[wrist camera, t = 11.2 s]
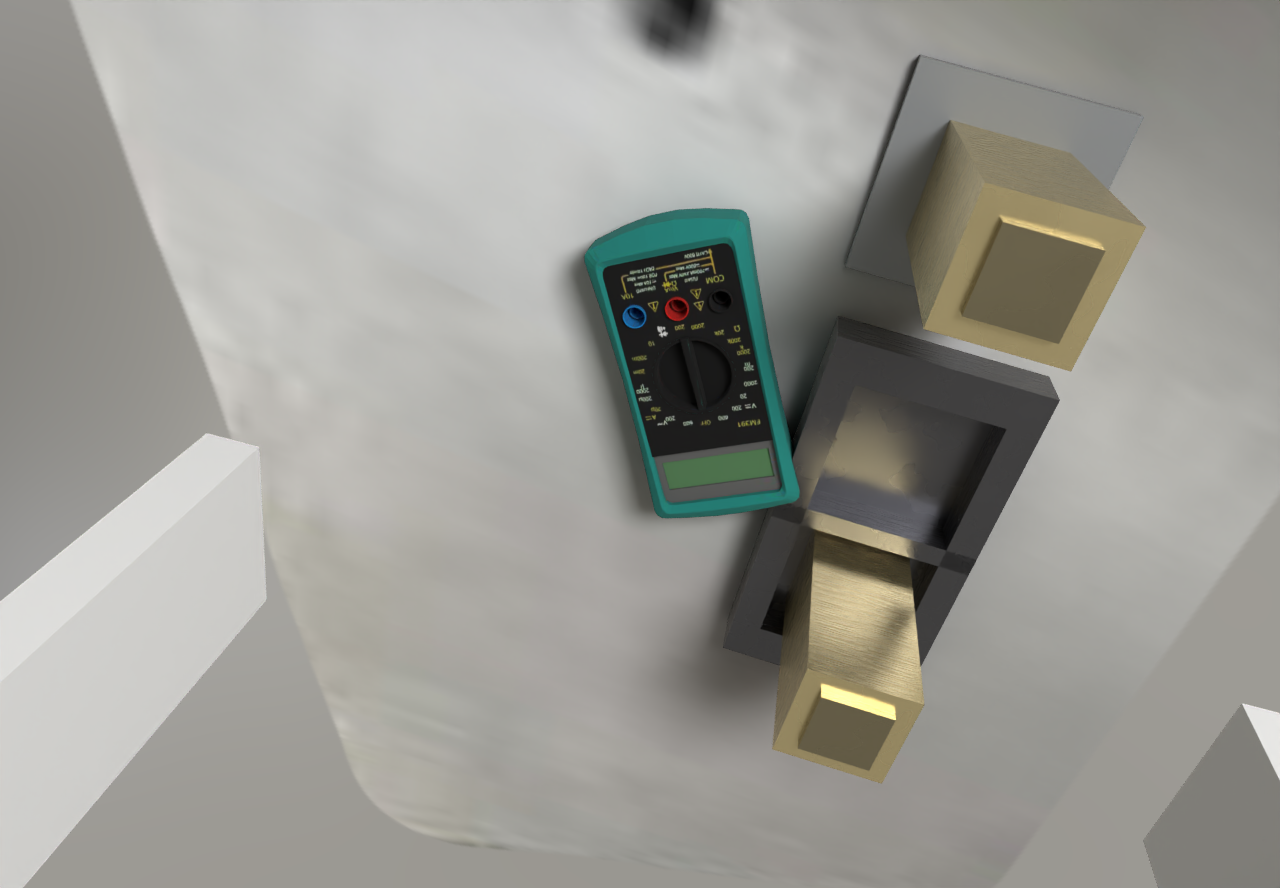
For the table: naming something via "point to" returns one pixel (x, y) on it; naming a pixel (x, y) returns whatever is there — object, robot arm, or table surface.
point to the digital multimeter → (696, 361)
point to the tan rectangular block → (1016, 246)
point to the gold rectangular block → (848, 658)
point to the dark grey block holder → (895, 471)
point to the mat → (984, 104)
